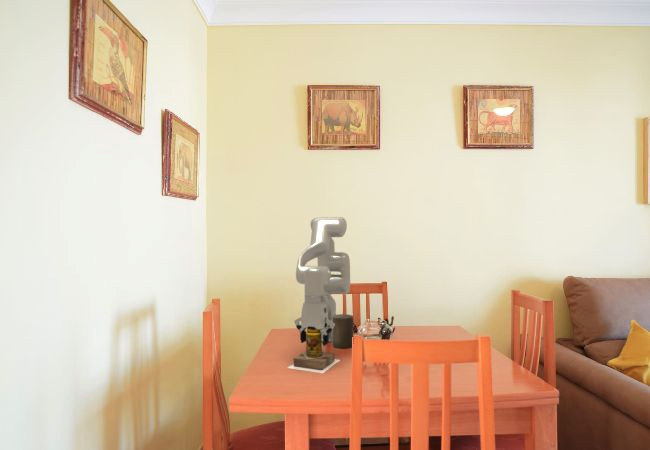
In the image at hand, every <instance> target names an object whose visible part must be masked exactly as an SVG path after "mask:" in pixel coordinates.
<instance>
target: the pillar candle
mask: <svg viewBox="0 0 650 450" xmlns="http://www.w3.org/2000/svg"><path fill="white" fill-rule="evenodd" d="M333 323H335V326H334V328H333V341H332V346H333V347H334V348H335V349H336V348H337V349H349V348H353V347H352V337H353V338H354V315H352V314H346V313H345V314H344V313H341V314H336V315H334V316H333Z"/></svg>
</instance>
